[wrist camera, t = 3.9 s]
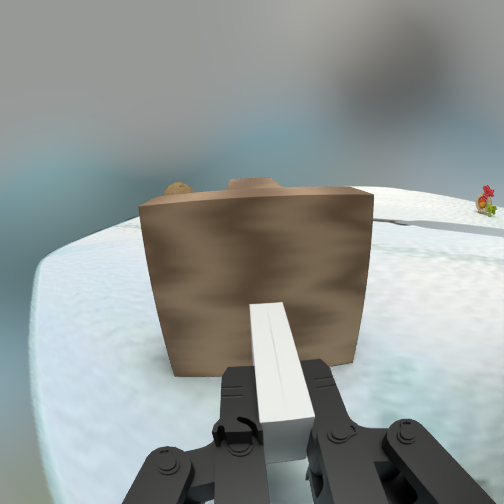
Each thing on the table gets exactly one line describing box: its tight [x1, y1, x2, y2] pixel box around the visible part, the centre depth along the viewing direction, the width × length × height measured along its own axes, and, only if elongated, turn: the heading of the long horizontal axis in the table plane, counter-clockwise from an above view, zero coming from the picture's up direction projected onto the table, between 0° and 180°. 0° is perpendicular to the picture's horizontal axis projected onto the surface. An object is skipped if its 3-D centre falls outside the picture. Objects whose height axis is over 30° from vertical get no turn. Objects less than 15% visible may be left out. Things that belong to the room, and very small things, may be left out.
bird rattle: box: [476, 185, 497, 217], centre depth 71 cm, size 6×11×9 cm
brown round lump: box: [163, 182, 194, 196], centre depth 73 cm, size 9×9×10 cm
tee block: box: [139, 177, 374, 377], centre depth 24 cm, size 14×14×13 cm
